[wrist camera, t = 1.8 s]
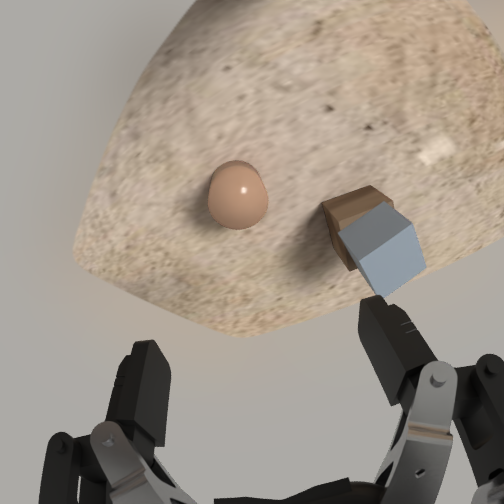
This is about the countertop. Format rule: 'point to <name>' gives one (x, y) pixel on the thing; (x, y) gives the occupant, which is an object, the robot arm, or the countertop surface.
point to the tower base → (350, 215)
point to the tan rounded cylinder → (237, 195)
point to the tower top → (384, 248)
